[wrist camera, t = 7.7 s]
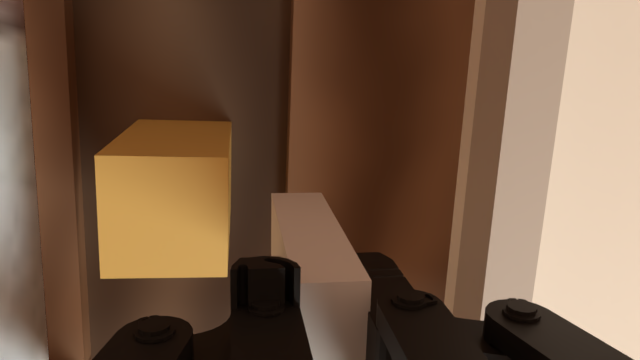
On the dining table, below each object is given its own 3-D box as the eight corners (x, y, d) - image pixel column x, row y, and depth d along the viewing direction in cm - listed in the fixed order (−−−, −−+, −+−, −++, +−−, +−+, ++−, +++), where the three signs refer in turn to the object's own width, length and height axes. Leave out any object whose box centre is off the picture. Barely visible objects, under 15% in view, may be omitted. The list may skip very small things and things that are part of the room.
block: (141, 207, 26) (100, 278, 18) (138, 119, 25) (94, 155, 17) (230, 207, 27) (227, 277, 19) (231, 121, 26) (228, 157, 18)
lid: (423, 504, 21) (450, 572, 19) (489, -138, 16) (539, -173, 14) (669, 487, 23) (727, 548, 20) (800, -109, 18) (901, -135, 15)
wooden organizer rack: (66, 369, 29) (-16, 528, 19) (36, -100, 24) (-95, -188, 14) (619, 350, 33) (770, 474, 24) (693, -51, 28) (921, -95, 19)
